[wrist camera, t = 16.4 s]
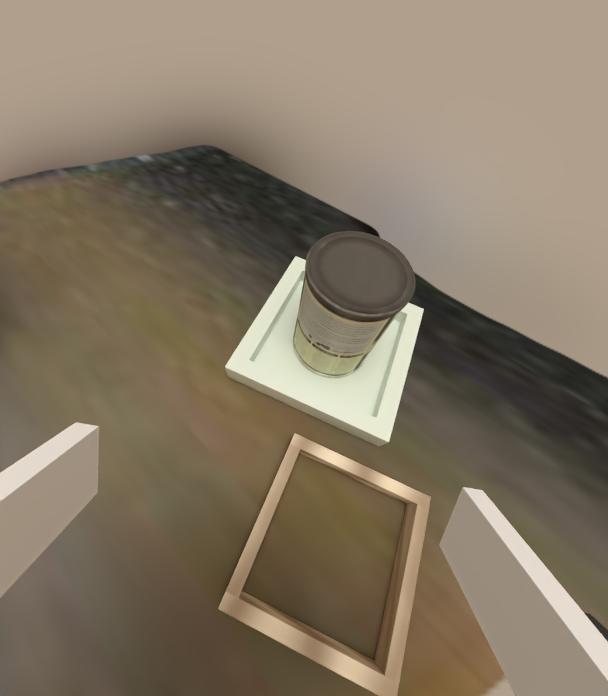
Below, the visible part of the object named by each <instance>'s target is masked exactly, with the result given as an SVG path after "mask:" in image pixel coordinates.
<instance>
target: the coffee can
mask: <svg viewBox="0 0 608 696" xmlns="http://www.w3.org/2000/svg"><path fill="white" fill-rule="evenodd" d="M414 290H415V275H414V272H413V269H412V267H411V265H410V263H409V262H408V260H407V259H406V257H405V256H404V255H403V254H402V253H401V252H400V251H399V250H398V249H397V248H396V247H394V246H393V245H391V244H390V243H388V242H387V241H385V240H383V239H381V238H379V237H377V236H374V235H371V234H368V233H363V232H356V231H342V232H336V233H332V234H329V235H327V236H325V237H323V238H321V239H320V240H318V241H317V242H316V243H315V244H314V245H313V246H312V247H311V249H310V251H309V253H308V255H307V258H306V264H305V277H304V282H303V287H302V293H301V299H300V304H299V310H298V315H297V320H296V326H295V331H294V334H293V348H294V351H295V354H296V356H297V358H298V359H299V361H300V362H301V363H302V364H303V365H304V366H305V367H306V368H307V369H308V370H310V371H312V372H313V373H315V374H317V375H320V376H323V377H329V378H340V377H345V376H348V375H350V374H352V373H354V372H355V371H357V370H358V369H359V368H360V367H361V366H362V364H363V363H364V361H365V359H366V357H367V356H368V355H369V353H370V352H371V350H372V349H373V348H374V346H375V345H376V344H377V342H378V341H379V339H380V338H381V337H382V335H383V334H384V332H385V331H386V330H387V328H388V327H389V326H390V324H391V323H392V321H393V320H394V319H395V317H396V316H397V315H398V313H399V312H400V311H401V310H402V309H403V308H404V307H405V306H406V305H407V304H408V302H409V301H410V299H411V298H412V296H413V293H414Z"/></svg>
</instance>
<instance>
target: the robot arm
mask: <svg viewBox="0 0 608 696" xmlns="http://www.w3.org/2000/svg"><path fill="white" fill-rule="evenodd" d="M98 448H99V426H94V425H88V424H82V423H74V424H73V425H71V426H70V427H68V428H67V429H65V430H64V431H62V432H61V433H59V434H58V435H56V436H55V437H53V438H52V439H50V440H49V441H47V442H46V443H44V444H43V445H41V446H40V447H38V448H37V449H35V450H34V451H32V452H31V453H29V454H28V455H26V456H25V457H23V458H22V459H20V460H19V461H17V462H16V463H14V464H13V465H11V466H10V467H8V468H7V469H5V470H4V471H2V472H1V473H0V598H1V597H2V596H3V594H4V593H5V592H6V591H7V590H8V589H9V588H10V587H11V586H12V585H13V584H14V583H15V581H16V580H17V579H18V578H19V577H20V576H21V575H22V574H23V573H24V572H25V571H26V570H27V568H28V567H29V566H30V565H31V564H32V563H33V562H34V561H35V560H36V559H37V558H38V557H39V556H40V554H41V553H42V552H43V551H44V550H45V549H46V548H47V547H48V546H49V545H50V544H51V543H52V541H53V540H54V539H55V538H56V537H57V536H58V535H59V534H60V533H61V532H62V531H63V530H64V528H65V527H66V526H67V525H68V524H69V523H70V522H71V521H72V520H73V519H74V518H75V517H76V515H77V514H78V513H79V512H80V511H81V510H82V509H83V508H84V507H85V506H86V505H87V504H88V502H89V501H90V500H91V499H92V498H93V497H94V496H95V495H96V494H97V493H98ZM440 547H441V549H442V551H443V553H444V555H445V557H446V559H447V561H448V563H449V565H450V567H451V569H452V571H453V573H454V575H455V577H456V579H457V581H458V583H459V585H460V587H461V589H462V591H463V593H464V595H465V597H466V599H467V601H468V603H469V605H470V607H471V609H472V611H473V613H474V615H475V617H476V619H477V621H478V623H479V625H480V627H481V629H482V631H483V633H484V635H485V637H486V639H487V641H488V643H489V645H490V647H491V649H492V651H493V653H494V655H495V657H496V658H497V660H498V662H499V664H500V666H501V668H502V670H503V672H504V674H505V676H506V678H507V680H508V682H509V684H510V686H511V688H512V690H513V692H514V694H515V696H608V630H607V629H606V628H605V627H604V626H603V625H601V624H600V623H599V622H598V621H597V620H596V619H595V618H594V617H593V616H591V615H590V614H587V613H584V612H583V611H582V610H581V609H580V608H579V606H578V605H577V604H576V603H575V602H574V600H573V599H572V598H571V597H570V596H569V594H568V593H567V592H566V591H565V590H564V588H563V587H562V586H561V585H560V584H559V582H558V581H557V580H556V579H555V577H554V576H553V575H552V574H551V573H550V571H549V570H548V569H547V568H546V567H545V565H544V564H543V563H542V562H541V561H540V559H539V558H538V557H537V556H536V555H535V553H534V552H533V551H532V550H531V548H530V547H529V546H528V545H527V544H526V542H525V541H524V540H523V539H522V538H521V536H520V535H519V534H518V533H517V532H516V530H515V529H514V528H513V527H512V526H511V524H510V523H509V522H508V521H507V519H506V518H505V517H504V516H503V515H502V513H501V512H500V511H499V510H498V509H497V507H496V506H495V505H494V504H493V503H492V501H491V500H490V499H489V498H488V497H487V495H486V494H485V493H484V492H483V490H477V489H471V488H465V487H463V488H462V490H461V493H460V495H459V498H458V500H457V503H456V505H455V508H454V510H453V512H452V515H451V517H450V520H449V522H448V525H447V527H446V530H445V532H444V535H443V537H442V540H441V542H440Z"/></svg>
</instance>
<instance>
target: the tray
mask: <svg viewBox="0 0 608 696" xmlns="http://www.w3.org/2000/svg"><path fill="white" fill-rule="evenodd" d="M305 264H306V260H304V259H301V258H299V257H297V256H295V258H294V260H293V261H292V263H291V264H290V266H289V267H288V269H287V271H286V272H285V274H284V275H283V277H282V278H281V280H280V282H279V283H278V285H277V286H276V288H275V289H274V291H273V292H272V294H271V296H270V297H269V299H268V300H267V302H266V303H265V305H264V307H263V308H262V310H261V311H260V313H259V314H258V316H257V318H256V319H255V321H254V322H253V324H252V325H251V327H250V328H249V330H248V332H247V333H246V335H245V336H244V338H243V339H242V341H241V343H240V344H239V346H238V347H237V349H236V350H235V352H234V353H233V355H232V357H231V358H230V360H229V361H228V363H227V364H226V366H225V369H226V373H227V376H228V377H229V378H231V379H233V380H235V381H238V382H240V383H242V384H244V385H246V386H248V387H250V388H253V389H255V390H257V391H259V392H261V393H263V394H266V395H268V396H270V397H272V398H274V399H276V400H279V401H281V402H283V403H285V404H287V405H289V406H292V407H294V408H296V409H298V410H300V411H302V412H305V413H307V414H309V415H311V416H313V417H315V418H318V419H320V420H322V421H324V422H326V423H328V424H331V425H333V426H335V427H337V428H339V429H341V430H344V431H346V432H348V433H350V434H352V435H354V436H357V437H359V438H361V439H363V440H365V441H367V442H370V443H372V444H374V445H376V446H378V447H380V446H382V445H384V444H386V443H388V442H389V440H390V436H391V432H392V428H393V425H394V421H395V417H396V413H397V409H398V406H399V402H400V398H401V394H402V390H403V387H404V383H405V379H406V375H407V371H408V368H409V364H410V360H411V356H412V352H413V349H414V345H415V341H416V337H417V333H418V330H419V326H420V322H421V318H422V314H423V310H424V309H422V308H420V307H417V306H415V305H413V304H410V303H408V304H407V305H406V306H405V307H404V308H403V309H402V310H401V311H400V312H399V313H398V315H397V316H396V317H395V319H394V320H393V321H392V323H391V324H390V326H389V327H388V328H387V330H386V331H385V332H384V334H383V335H382V337H381V338H380V339H379V341H378V342H377V344H376V345H375V346H374V348H373V349H372V350H371V352H370V353H369V355H368V356H367V357H366V359H365V361H364V363H363V364H362V366H361V367H360V368H359V369H358V370H357V371H355V372H354V373H352V374H350V375H348V376H345V377H340V378H329V377H323V376H320V375H317V374H315V373H313V372H312V371H310V370H308V369H307V368H306V367H305V366H304V365H303V364H302V363H301V362H300V361H299V359H298V358H297V356H296V354H295V351H294V348H293V334H294V331H295V326H296V320H297V315H298V310H299V304H300V299H301V293H302V287H303V282H304V277H305Z"/></svg>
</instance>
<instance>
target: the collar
mask: <svg viewBox="0 0 608 696" xmlns="http://www.w3.org/2000/svg"><path fill="white" fill-rule="evenodd" d="M299 453H300V454H302V455H304V456H307V457H309V458H311V459H313V460H315V461H317V462H319V463H321V464H323V465H326V466H328V467H330V468H332V469H334V470H336V471H338V472H340V473H342V474H344V475H347V476H349V477H351V478H353V479H355V480H357V481H359V482H361V483H363V484H366V485H368V486H370V487H372V488H374V489H376V490H378V491H380V492H382V493H384V494H387V495H389V496H391V497H393V498H395V499H397V500H399V501H401V502H403V503H405V504H407V505H406V509H405V514H404V519H403V524H402V529H401V533H400V538H399V543H398V548H397V553H396V557H395V562H394V567H393V572H392V577H391V581H390V586H389V591H388V596H387V601H386V605H385V610H384V615H383V620H382V625H381V629H380V634H379V639H378V644H377V649H376V653H375V658H374V660H372V659H370V658H368V657H366V656H364V655H362V654H361V653H359V652H357V651H355V650H353V649H351V648H349V647H347V646H345V645H344V644H342V643H340V642H338V641H336V640H334V639H332V638H330V637H328V636H326V635H325V634H323V633H321V632H319V631H317V630H315V629H313V628H311V627H309V626H308V625H306V624H304V623H302V622H300V621H298V620H296V619H294V618H292V617H291V616H289V615H287V614H285V613H283V612H281V611H279V610H277V609H275V608H273V607H272V606H270V605H268V604H266V603H264V602H262V601H260V600H258V599H256V598H255V597H253V596H251V595H249V594H247V593H245V592H243V591H242V589H243V586H244V584H245V581H246V579H247V577H248V574H249V572H250V569H251V567H252V565H253V562H254V560H255V557H256V555H257V552H258V550H259V548H260V545H261V543H262V540H263V538H264V536H265V533H266V531H267V528H268V526H269V524H270V521H271V519H272V516H273V514H274V511H275V509H276V507H277V504H278V502H279V499H280V497H281V495H282V492H283V490H284V487H285V485H286V483H287V480H288V478H289V475H290V473H291V471H292V468H293V466H294V463H295V461H296V458H297V456H298V454H299ZM430 500H431V497H429V496H427V495H425V494H423V493H421V492H419V491H417V490H414V489H412V488H410V487H408V486H406V485H404V484H402V483H400V482H397V481H395V480H393V479H391V478H389V477H387V476H385V475H382V474H380V473H378V472H376V471H374V470H372V469H370V468H368V467H365V466H363V465H361V464H359V463H357V462H355V461H353V460H351V459H348V458H346V457H344V456H342V455H340V454H338V453H336V452H334V451H331V450H329V449H327V448H325V447H323V446H321V445H319V444H317V443H314V442H312V441H310V440H308V439H306V438H304V437H302V436H299V435H297V434H294V436H293V438H292V440H291V443H290V445H289V447H288V449H287V452H286V454H285V456H284V459H283V461H282V463H281V465H280V468H279V470H278V472H277V475H276V477H275V479H274V481H273V484H272V486H271V488H270V491H269V493H268V495H267V497H266V500H265V502H264V504H263V507H262V509H261V511H260V513H259V516H258V518H257V520H256V523H255V525H254V527H253V529H252V532H251V534H250V536H249V539H248V541H247V543H246V545H245V548H244V550H243V552H242V555H241V557H240V559H239V561H238V564H237V566H236V568H235V571H234V573H233V575H232V577H231V580H230V582H229V584H228V587H227V589H226V591H225V594H224V596H223V598H222V600H221V603H220V605H219V608H218V609H219V610H221V611H223V612H224V613H226V614H228V615H230V616H232V617H234V618H236V619H237V620H239V621H241V622H243V623H245V624H247V625H249V626H250V627H252V628H254V629H256V630H258V631H260V632H262V633H263V634H265V635H267V636H269V637H271V638H273V639H275V640H276V641H278V642H280V643H282V644H284V645H286V646H288V647H289V648H291V649H293V650H295V651H297V652H299V653H301V654H302V655H304V656H306V657H308V658H310V659H312V660H314V661H315V662H317V663H319V664H321V665H323V666H325V667H327V668H328V669H330V670H332V671H334V672H336V673H338V674H340V675H341V676H343V677H345V678H347V679H349V680H351V681H353V682H354V683H356V684H358V685H360V686H362V687H364V688H366V689H368V690H369V691H371V692H373V693H375V694H377V695H379V696H397V692H398V686H399V680H400V675H401V669H402V663H403V657H404V651H405V645H406V640H407V634H408V628H409V622H410V616H411V610H412V605H413V599H414V593H415V587H416V581H417V575H418V570H419V564H420V558H421V552H422V546H423V540H424V535H425V529H426V523H427V517H428V511H429V506H430Z"/></svg>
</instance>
